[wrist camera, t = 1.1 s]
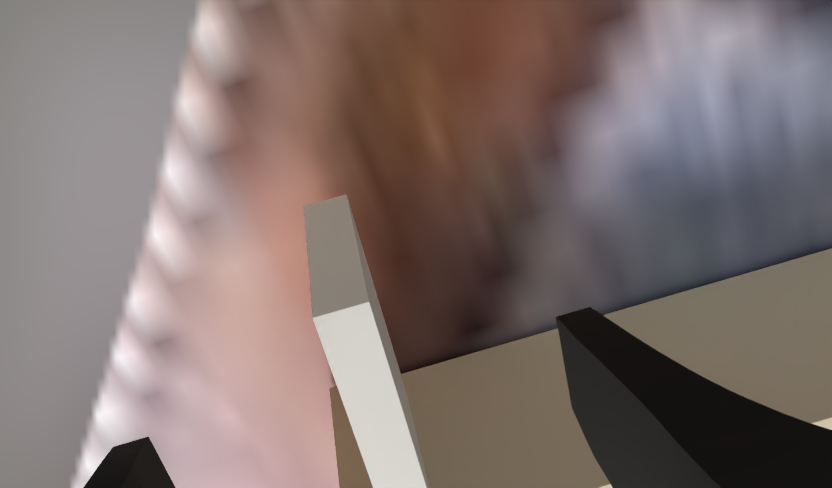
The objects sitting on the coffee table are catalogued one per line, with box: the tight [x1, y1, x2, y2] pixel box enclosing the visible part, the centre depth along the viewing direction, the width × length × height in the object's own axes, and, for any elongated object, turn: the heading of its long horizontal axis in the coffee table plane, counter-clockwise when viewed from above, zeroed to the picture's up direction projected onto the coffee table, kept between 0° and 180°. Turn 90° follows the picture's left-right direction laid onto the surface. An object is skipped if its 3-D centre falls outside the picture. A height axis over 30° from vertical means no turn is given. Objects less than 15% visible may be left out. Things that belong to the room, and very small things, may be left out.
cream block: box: [304, 194, 832, 488], centre depth 18 cm, size 16×7×6 cm, turn 103°
